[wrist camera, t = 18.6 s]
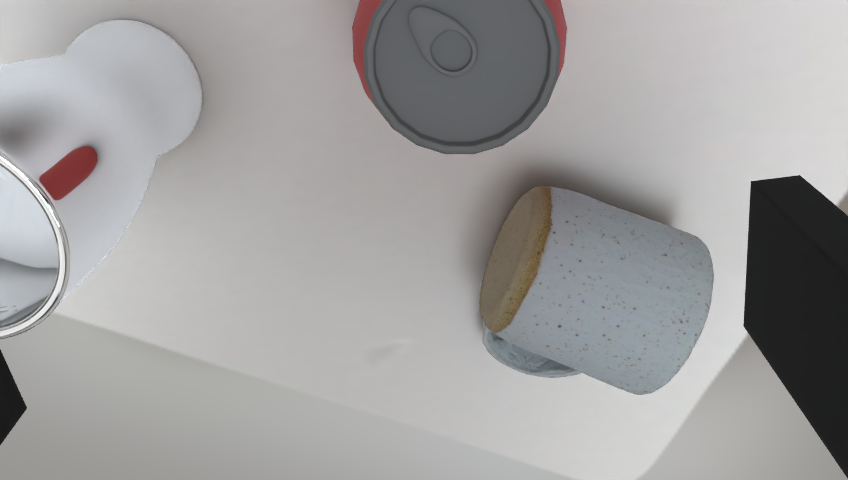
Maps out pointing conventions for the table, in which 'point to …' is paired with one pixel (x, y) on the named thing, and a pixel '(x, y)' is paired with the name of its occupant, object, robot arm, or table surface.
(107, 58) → the beer glass
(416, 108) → the beer can
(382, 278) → the table surface
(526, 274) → the ceramic mug
